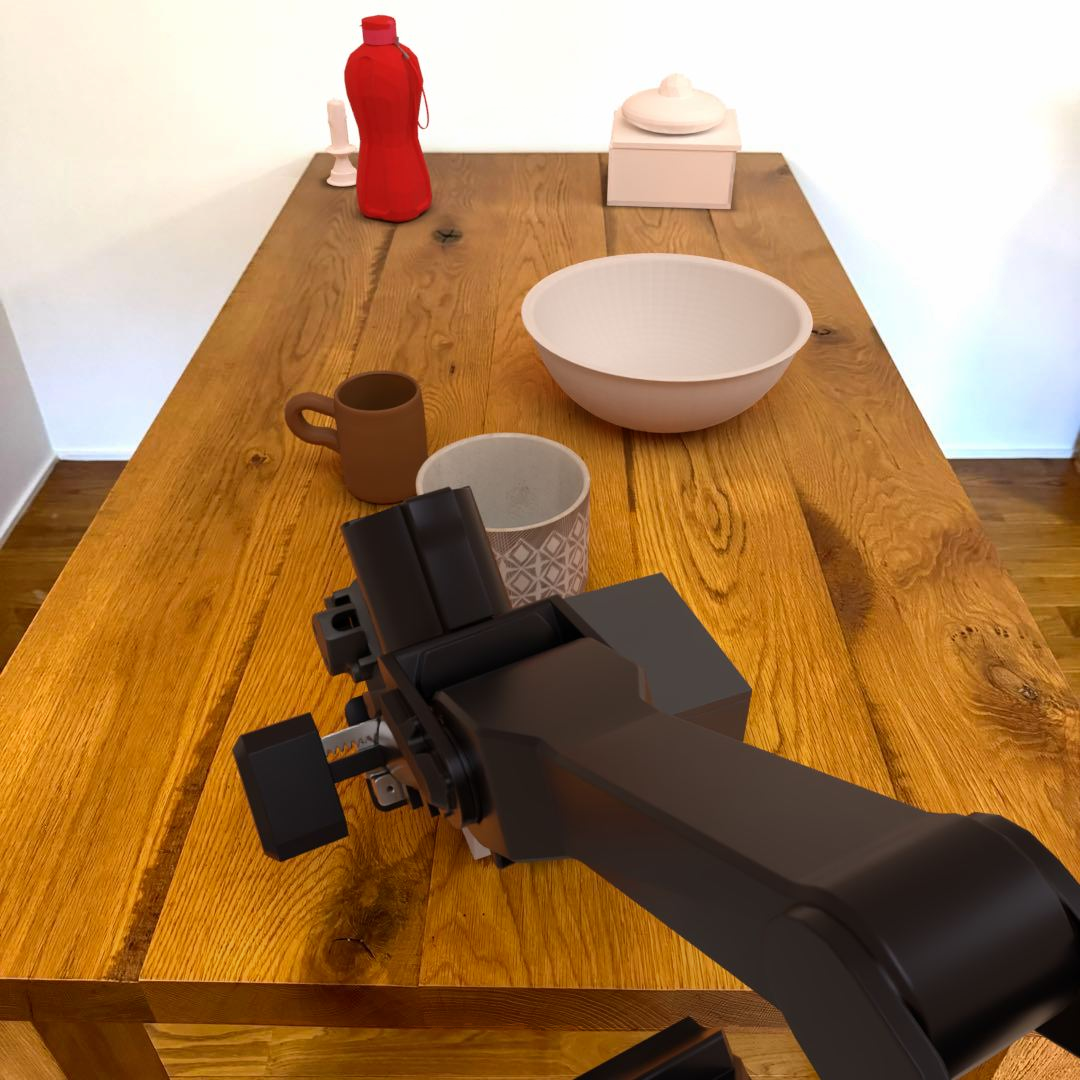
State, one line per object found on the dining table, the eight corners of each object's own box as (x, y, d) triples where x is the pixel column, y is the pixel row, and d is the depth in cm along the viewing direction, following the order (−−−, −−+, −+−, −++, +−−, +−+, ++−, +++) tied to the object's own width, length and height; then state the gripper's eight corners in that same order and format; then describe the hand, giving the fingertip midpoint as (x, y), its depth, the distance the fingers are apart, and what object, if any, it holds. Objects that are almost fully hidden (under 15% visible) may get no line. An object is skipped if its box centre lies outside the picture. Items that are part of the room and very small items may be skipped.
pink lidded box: (612, 165, 162) (616, 55, 152) (729, 168, 160) (740, 57, 150) (606, 205, 148) (610, 87, 138) (734, 209, 146) (747, 90, 137)
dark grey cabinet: (536, 858, 62) (535, 757, 57) (474, 722, 71) (467, 623, 65) (735, 789, 66) (753, 689, 60) (653, 669, 75) (662, 571, 69)
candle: (347, 189, 154) (337, 104, 146) (319, 183, 156) (308, 99, 149) (370, 178, 157) (361, 95, 150) (342, 172, 159) (332, 90, 152)
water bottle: (418, 230, 141) (402, 28, 126) (350, 217, 145) (326, 20, 129) (451, 207, 147) (440, 13, 132) (385, 196, 151) (367, 6, 136)
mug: (288, 507, 90) (270, 414, 85) (304, 459, 96) (288, 369, 91) (426, 507, 90) (417, 413, 85) (433, 458, 96) (426, 368, 91)
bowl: (795, 494, 92) (813, 395, 85) (494, 461, 96) (491, 364, 90) (798, 351, 113) (812, 263, 107) (551, 330, 117) (551, 244, 111)
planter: (619, 603, 80) (625, 493, 74) (476, 666, 75) (469, 553, 69) (532, 521, 89) (531, 415, 82) (398, 571, 83) (386, 463, 77)
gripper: (596, 506, 49) (504, 555, 64) (198, 626, 43) (197, 650, 57) (672, 732, 49) (561, 729, 63) (279, 888, 42) (257, 844, 57)
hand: (401, 732), depth 60 cm, fingers closed
